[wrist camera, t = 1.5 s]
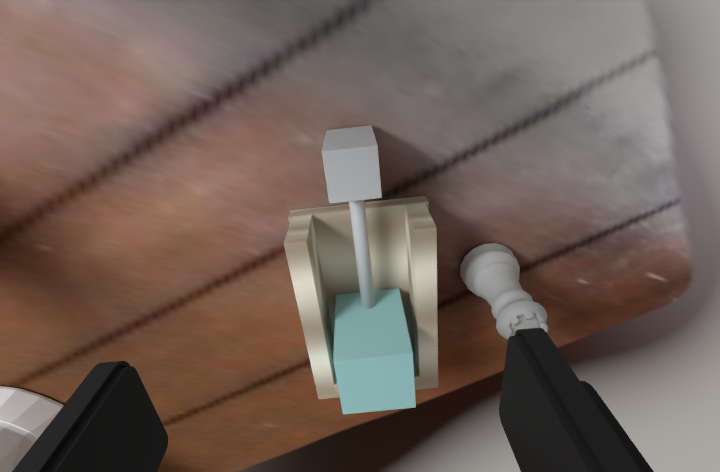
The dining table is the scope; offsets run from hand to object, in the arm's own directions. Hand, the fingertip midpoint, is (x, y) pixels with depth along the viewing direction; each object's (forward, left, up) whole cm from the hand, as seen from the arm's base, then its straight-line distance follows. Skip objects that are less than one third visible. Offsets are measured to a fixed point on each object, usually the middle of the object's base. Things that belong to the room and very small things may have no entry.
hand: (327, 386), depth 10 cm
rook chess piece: (+9, +11, -19) cm, 24 cm away
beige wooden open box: (+10, +1, -19) cm, 21 cm away
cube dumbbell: (+6, +1, -19) cm, 20 cm away
